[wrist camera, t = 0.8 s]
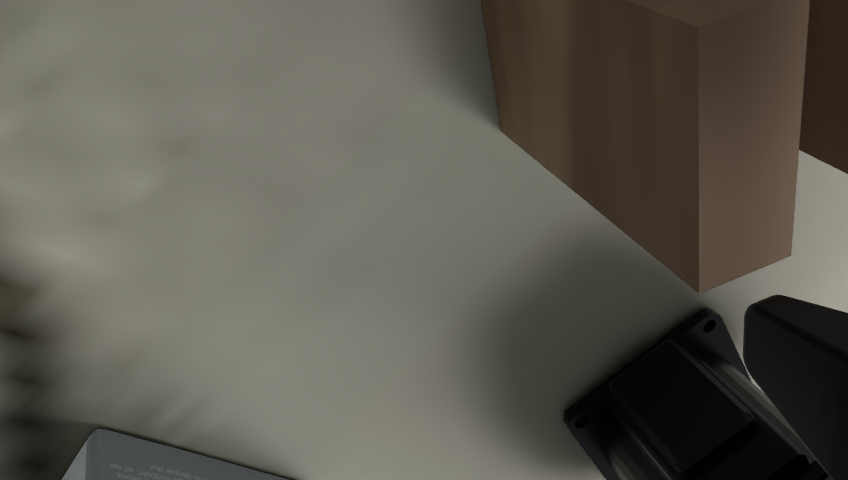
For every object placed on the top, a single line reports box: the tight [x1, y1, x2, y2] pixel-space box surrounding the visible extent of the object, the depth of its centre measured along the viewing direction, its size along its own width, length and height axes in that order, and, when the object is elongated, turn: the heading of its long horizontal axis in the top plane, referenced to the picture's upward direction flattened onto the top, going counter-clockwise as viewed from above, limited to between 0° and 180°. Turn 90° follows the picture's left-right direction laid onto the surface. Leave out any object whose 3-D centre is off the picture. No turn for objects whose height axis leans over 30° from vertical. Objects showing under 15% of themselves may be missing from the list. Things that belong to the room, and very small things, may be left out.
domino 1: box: [481, 0, 810, 294], centre depth 17 cm, size 2×5×8 cm, turn 12°
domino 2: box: [799, 0, 848, 174], centre depth 17 cm, size 2×5×8 cm, turn 12°
